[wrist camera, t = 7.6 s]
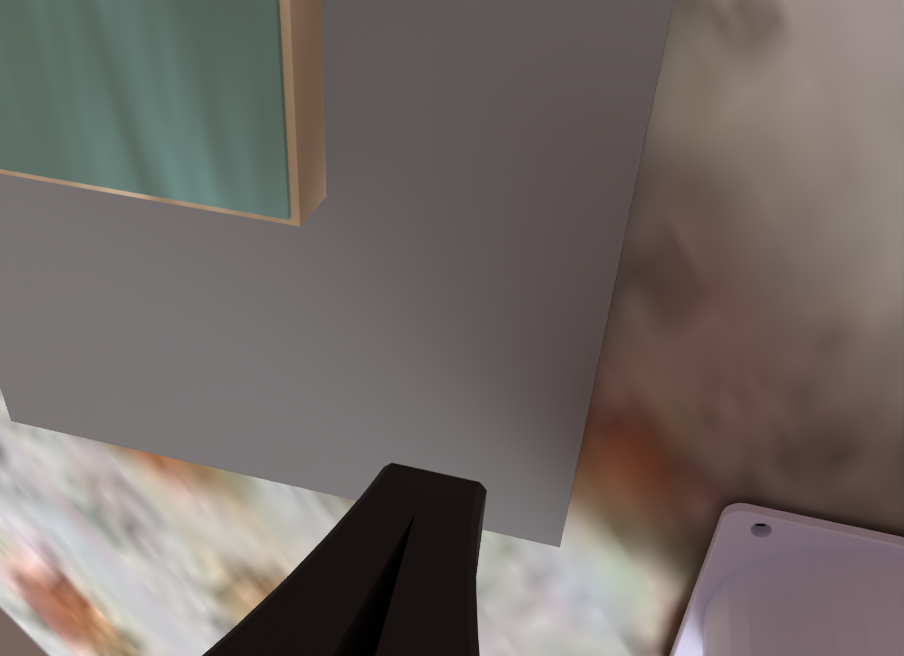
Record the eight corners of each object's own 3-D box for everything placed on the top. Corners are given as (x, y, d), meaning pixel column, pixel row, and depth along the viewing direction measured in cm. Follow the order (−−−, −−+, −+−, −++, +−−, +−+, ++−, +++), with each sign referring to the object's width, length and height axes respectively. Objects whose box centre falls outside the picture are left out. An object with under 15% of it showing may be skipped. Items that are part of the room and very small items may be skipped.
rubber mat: (779, -510, 12) (782, -521, 11) (562, 534, 24) (559, 547, 24) (-274, -535, 14) (-302, -544, 14) (21, 411, 27) (11, 421, 27)
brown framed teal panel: (282, -75, 14) (-112, -120, 16) (297, 229, 18) (-27, 172, 19) (319, -88, 16) (-45, -129, 17) (326, 195, 19) (23, 144, 20)
